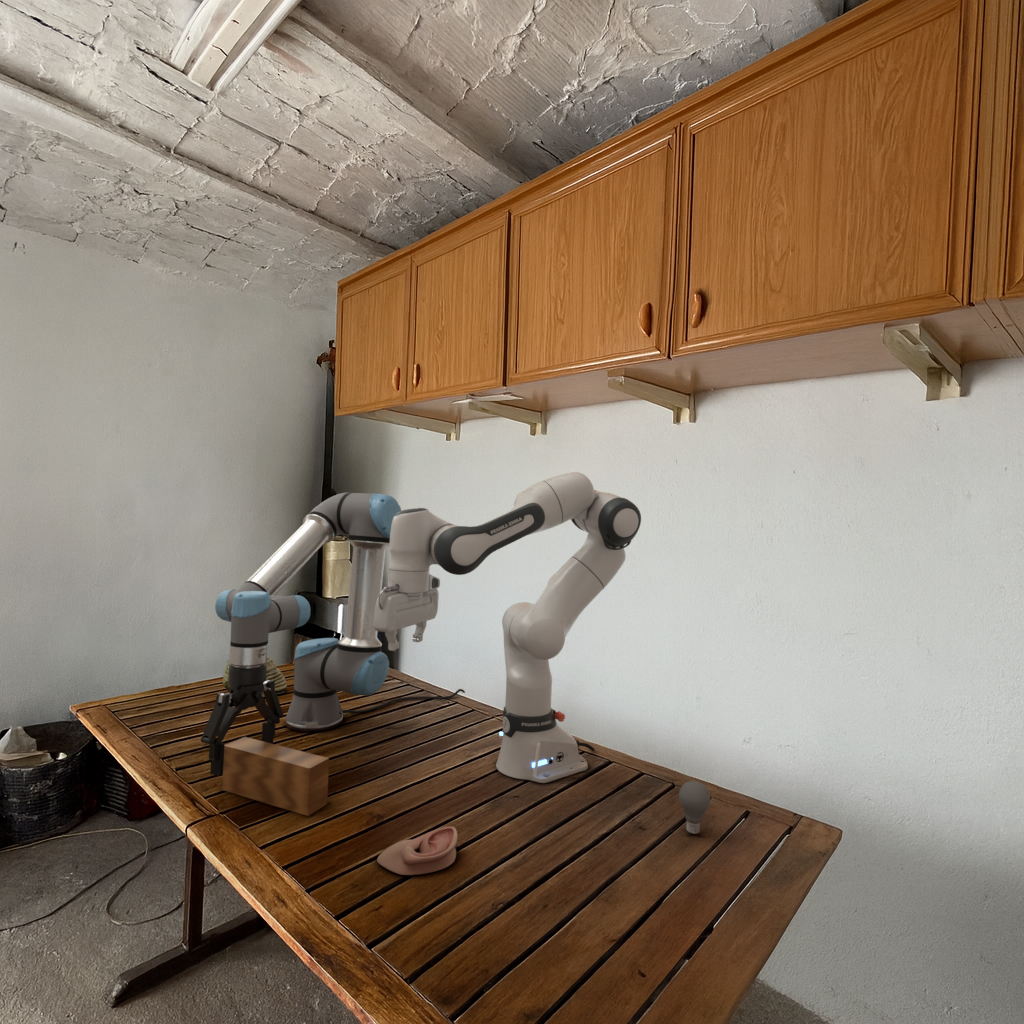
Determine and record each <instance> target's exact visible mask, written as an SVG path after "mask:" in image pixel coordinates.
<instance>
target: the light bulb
mask: <svg viewBox="0 0 1024 1024" xmlns="http://www.w3.org/2000/svg"><path fill="white" fill-rule="evenodd" d="M678 799H679V803H680V805H681V807H682V810H683V811H684V818H685V820H686V824H685V829H686V832H688V833H690V834H691V835H692V834H693V835H694V834H695V835H696V834H699V833H700V831H701V829H700V828H701V823H702V821H703V816H704V814H705V813H706V811H707V810H708V808H709V807H710V804H711V794H710V792H709V790H708V788H707V787H706V786H705V785H704V784H703V783H702V782H700V781H697V780H689V781H687V782H685V783H683V785H682V786H681V787H680V788H679V792H678Z"/></svg>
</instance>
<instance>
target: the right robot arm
mask: <svg viewBox="0 0 1024 1024" xmlns="http://www.w3.org/2000/svg"><path fill="white" fill-rule="evenodd" d="M570 520H571V522H572V523H573V525H574V526H575V527H577V529H578V530H580V531H583V532H585V533H587V535H586V538H585V541H584V543H583V545H582V546H581V548H580V549H578V550H577V551H575V553H574V554H573V555H572V556H570V558H569V559H568V560H566V562H565V563H564V564H563V565H562V566H560V568H559V569H558V570H557V571H555V573H554V574H553V575H552V576H550V577H549V579H548V581H547V584H546V586H545V588H544V590H543V591H542V593H541V594H540V596H539V598H538V599H537V600H536V602H534V603H532V602H516V603H513V604H511V605H510V606H509V607H507V608H506V609H505V611H504V612H503V615H502V619H501V625H502V632H503V633H502V634H503V650H504V651H503V652H504V662H505V676H506V677H505V678H506V679H505V706H503V711H502V731H499V734H498V735H499V736H501V737H502V739H501V745H500V749H499V754H498V757H497V760H496V762H495V768H496V769H497V771H498V772H500V773H501V774H502V775H505V776H507V777H510V778H513V779H517V780H525V781H526V780H527V781H532V782H535V783H539V784H546V783H550V782H553V781H556V780H559V779H562V778H565V777H568V776H573V775H575V774H578V773H581V772H584V771H587V770H588V769H589V766H588V765H589V764H588V761H587V760H586V759H585V758H584V757H583V756H582V755H581V754H580V752H579V751H580V747H585V748H587V749H589V750H590V751H591V752H595V750H596V749H595V747H593V746H592V745H590V744H589V743H587V742H582V741H581V742H580V740H578V739H577V738H574V737H573V736H572V735H571V734H570V733H569V732H568V731H566V730H565V729H564V728H563V727H562V726H560V725H559V724H558V723H557V721H558V722H561V723H562V722H564V721H565V719H566V715H565V713H564V712H561V711H560V710H559V711H558V710H557V711H556V710H555V709H553V708H552V693H553V691H552V690H553V676H552V672H551V668H550V661H549V660H551V659H553V658H555V657H556V656H558V655H559V654H560V653H561V651H562V650H563V648H564V646H565V642H566V637H567V635H568V634H569V632H570V630H571V629H572V627H573V626H574V624H575V623H576V621H577V619H578V618H579V617H580V615H581V614H582V612H584V610H585V609H586V608H587V607H588V606H589V605H590V603H591V602H592V601H593V600H594V599H596V597H597V596H599V594H600V593H601V592H602V591H603V590H604V589H606V587H607V586H608V585H609V584H610V582H612V580H613V579H614V577H616V575H617V574H618V572H619V571H620V569H621V568H622V566H623V565H624V563H625V561H626V554H627V553H626V551H625V548H627V547H628V546H630V545H631V542H632V541H633V539H634V538H635V537H636V535H638V532H639V530H640V527H641V524H642V513H641V511H640V509H639V508H638V506H637V505H636V504H635V503H633V502H632V501H631V500H630V499H627V498H626V497H621V496H619V495H618V494H614V493H610V492H605V491H598V490H596V489H595V487H594V485H593V483H592V481H591V480H590V478H588V476H587V475H585V474H584V473H583V472H579V471H574V472H568V473H563V474H559V475H556V476H552V477H549V478H547V479H544V480H541V481H538V482H537V483H534V484H532V485H530V486H528V487H527V488H525V489H524V490H522V491H521V492H519V493H518V494H517V495H516V497H515V499H514V502H513V507H512V508H511V509H510V510H508V511H507V512H505V513H503V514H501V515H499V516H497V517H494V518H492V519H491V520H488V521H485V522H483V523H481V524H479V525H473V526H466V525H465V526H464V525H456V524H452V523H451V522H449V521H446V520H445V519H442V518H440V517H439V516H437V515H435V514H433V513H432V512H431V511H429V509H428V508H425V507H417V508H415V507H414V508H408V509H402V510H401V511H400V512H398V513H397V514H396V515H395V516H394V518H393V520H392V524H391V531H390V544H389V547H388V548H389V553H390V560H389V563H388V569H387V570H388V571H387V586H384V587H382V591H381V593H380V594H379V597H378V599H377V602H376V606H375V613H374V624H373V625H374V628H375V630H376V631H378V632H381V633H384V635H385V637H386V640H387V643H388V644H387V648H388V649H387V650H388V651H391V652H395V651H398V650H399V649H400V641H399V640H398V639H397V635H398V630H401V629H404V628H408V627H411V626H414V625H415V630H414V632H413V633H412V642H413V643H420V642H423V640H424V632H425V630H426V628H427V622H428V621H432V620H435V618H436V617H437V614H438V611H439V596H440V595H439V593H440V592H439V590H438V589H439V588H440V586H441V579H440V578H439V577H437V576H434V575H433V574H431V573H430V569H431V568H430V567H431V566H432V565H437V566H440V567H441V568H442V569H443V570H444V571H445V572H447V573H449V574H452V575H454V576H455V575H457V576H463V575H467V574H470V573H471V572H473V571H475V570H476V569H477V568H478V567H479V566H480V565H481V564H482V563H483V562H484V561H485V560H486V559H487V558H488V557H489V556H490V555H491V554H493V553H494V552H496V551H498V550H500V549H502V548H505V547H506V546H508V545H511V544H512V543H514V542H516V541H518V540H521V539H522V538H524V537H526V536H529V535H533V534H537V533H541V532H544V531H548V530H550V529H553V528H555V527H557V526H560V525H562V524H565V523H567V522H568V521H570Z"/></svg>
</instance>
